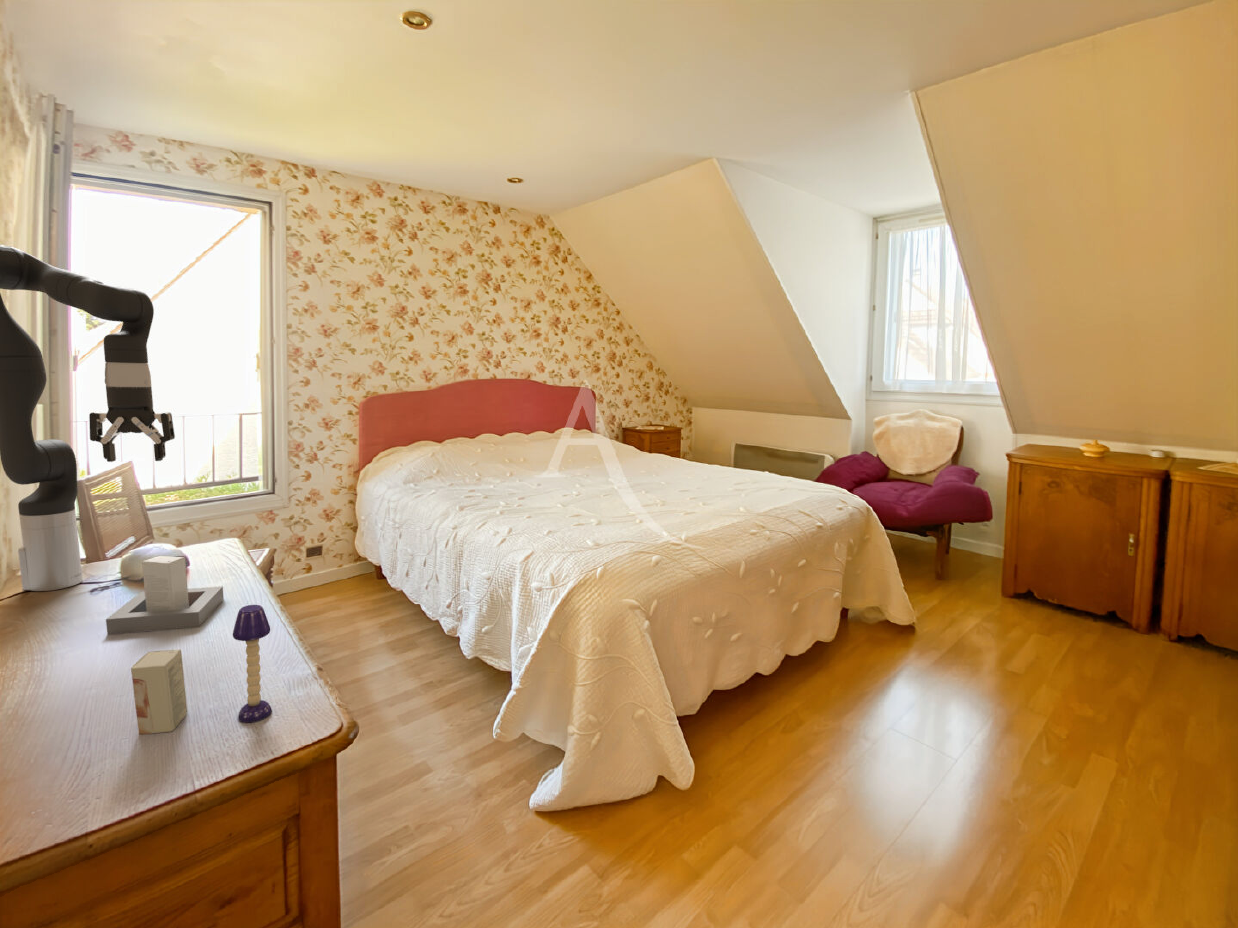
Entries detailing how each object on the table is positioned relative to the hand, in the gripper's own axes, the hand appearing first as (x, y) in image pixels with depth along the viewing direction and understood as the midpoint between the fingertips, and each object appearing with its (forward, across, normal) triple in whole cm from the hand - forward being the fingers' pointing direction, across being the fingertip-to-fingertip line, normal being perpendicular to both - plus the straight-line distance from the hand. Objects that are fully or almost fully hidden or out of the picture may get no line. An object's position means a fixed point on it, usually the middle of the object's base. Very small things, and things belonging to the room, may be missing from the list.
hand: (135, 460), depth 130 cm
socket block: (+30, -9, +14) cm, 34 cm away
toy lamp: (+30, -35, +59) cm, 75 cm away
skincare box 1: (+30, -9, +14) cm, 35 cm away
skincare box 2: (+30, -23, +58) cm, 69 cm away
